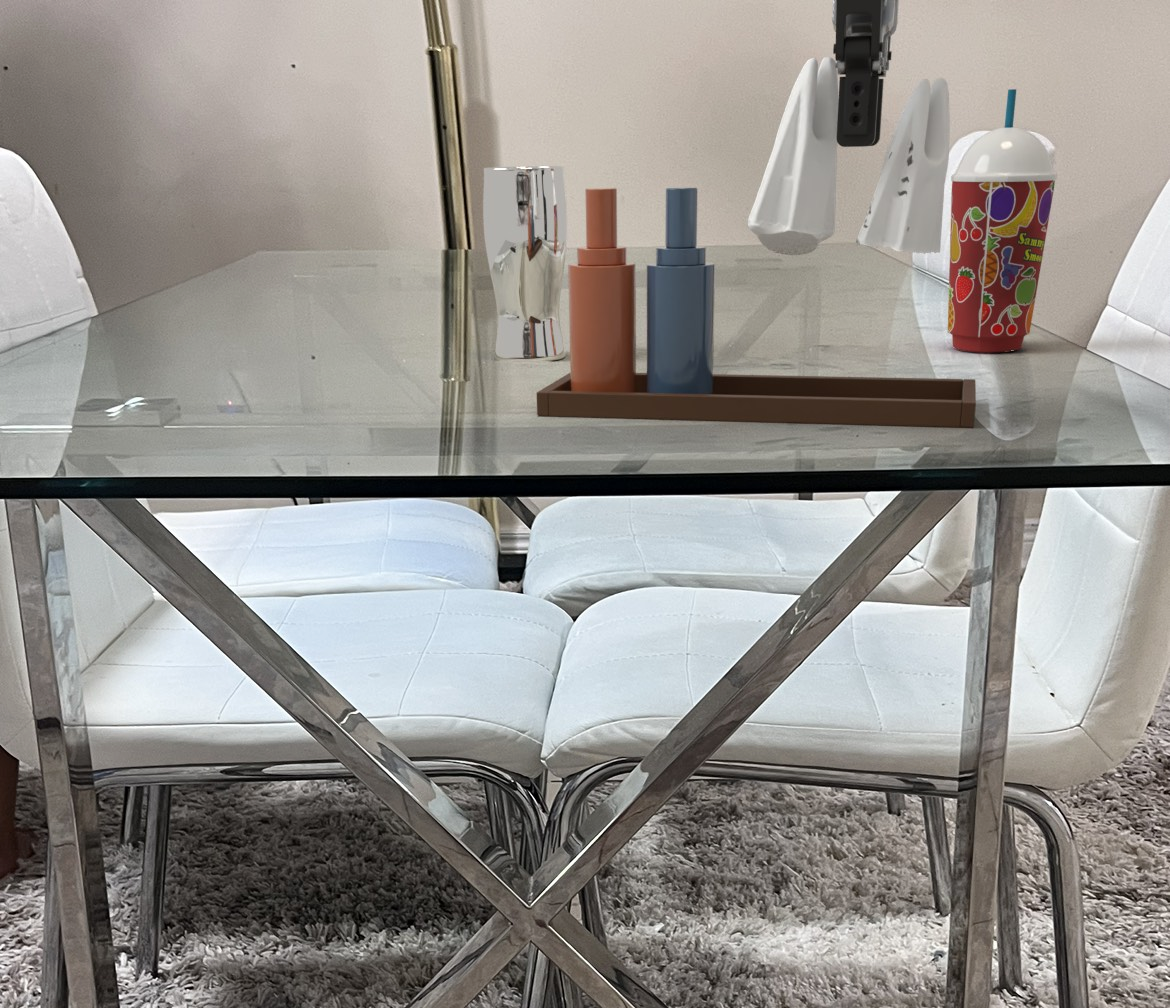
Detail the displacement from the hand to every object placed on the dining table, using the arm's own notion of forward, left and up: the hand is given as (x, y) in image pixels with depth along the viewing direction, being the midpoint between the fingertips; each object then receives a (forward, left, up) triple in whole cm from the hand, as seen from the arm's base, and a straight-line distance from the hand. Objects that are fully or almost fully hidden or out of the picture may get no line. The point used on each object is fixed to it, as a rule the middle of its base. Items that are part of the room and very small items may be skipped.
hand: (858, 144), depth 84 cm
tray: (+6, 0, -16) cm, 17 cm away
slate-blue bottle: (+11, 0, -16) cm, 19 cm away
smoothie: (-9, -35, -17) cm, 40 cm away
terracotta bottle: (+16, 0, -16) cm, 22 cm away
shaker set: (+1, 0, -7) cm, 7 cm away
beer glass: (+29, -25, -17) cm, 42 cm away
